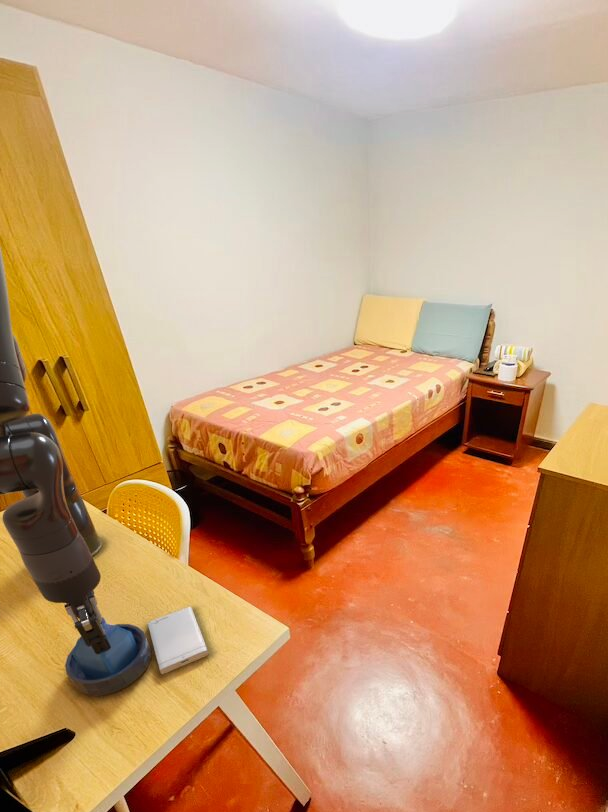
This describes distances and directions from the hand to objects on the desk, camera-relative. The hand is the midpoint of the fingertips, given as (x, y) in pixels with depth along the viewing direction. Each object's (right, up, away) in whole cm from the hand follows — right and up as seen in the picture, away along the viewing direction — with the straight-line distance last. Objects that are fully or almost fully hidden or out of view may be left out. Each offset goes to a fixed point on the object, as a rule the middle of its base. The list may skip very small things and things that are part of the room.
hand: (99, 637), depth 71 cm
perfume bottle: (0, -6, +4) cm, 8 cm away
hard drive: (+9, -4, +9) cm, 13 cm away
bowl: (0, -6, +4) cm, 8 cm away
